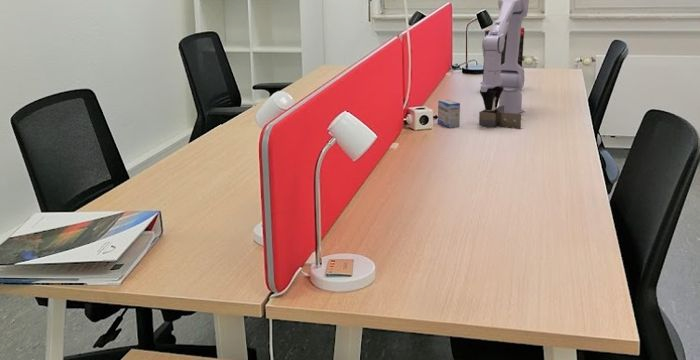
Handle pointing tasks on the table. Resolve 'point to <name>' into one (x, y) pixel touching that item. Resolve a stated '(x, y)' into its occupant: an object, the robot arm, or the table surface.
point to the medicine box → (448, 113)
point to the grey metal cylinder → (492, 107)
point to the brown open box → (502, 118)
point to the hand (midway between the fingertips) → (491, 108)
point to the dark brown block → (489, 122)
